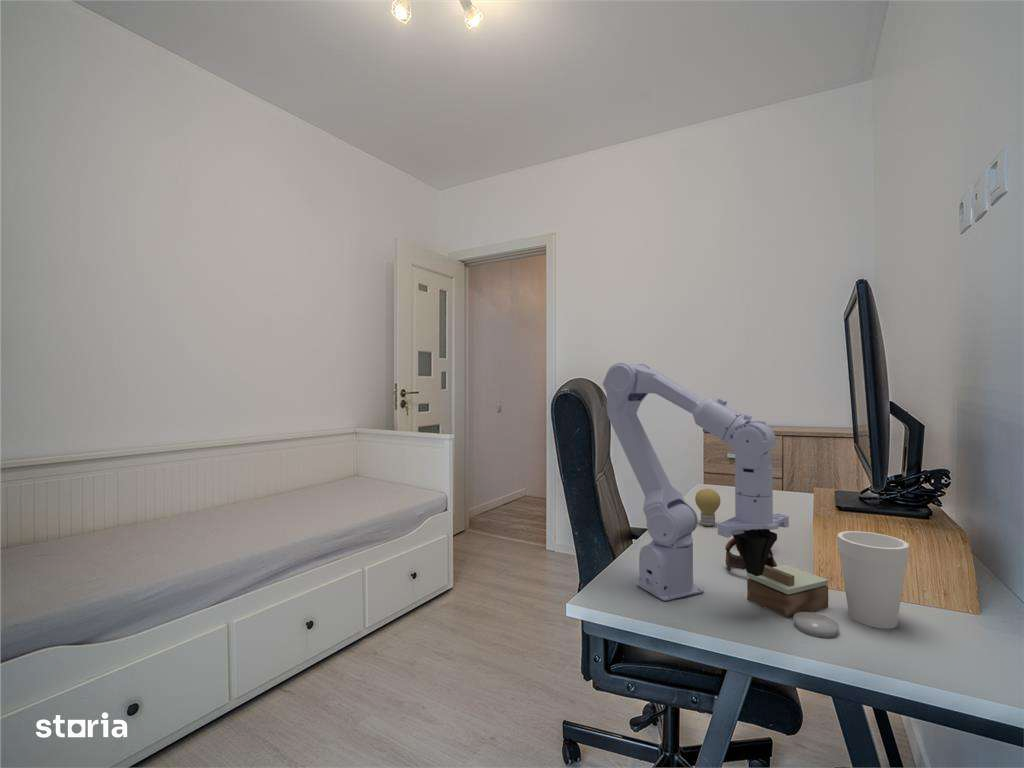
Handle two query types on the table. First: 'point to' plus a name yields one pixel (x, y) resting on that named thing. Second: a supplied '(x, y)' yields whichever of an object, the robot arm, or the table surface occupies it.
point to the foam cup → (873, 576)
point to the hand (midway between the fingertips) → (754, 573)
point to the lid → (788, 579)
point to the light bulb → (707, 505)
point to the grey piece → (816, 624)
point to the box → (787, 599)
